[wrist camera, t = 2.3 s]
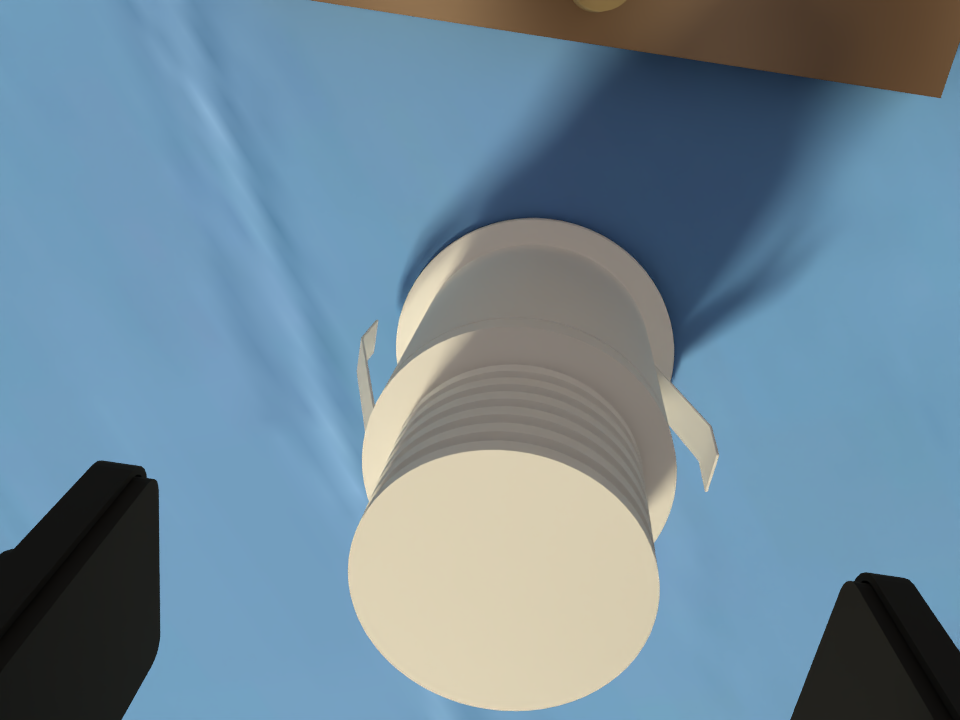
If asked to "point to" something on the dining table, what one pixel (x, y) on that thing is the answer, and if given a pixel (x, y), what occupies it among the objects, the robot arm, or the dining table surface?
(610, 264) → the downlight
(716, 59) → the pin board
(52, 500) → the dining table surface
